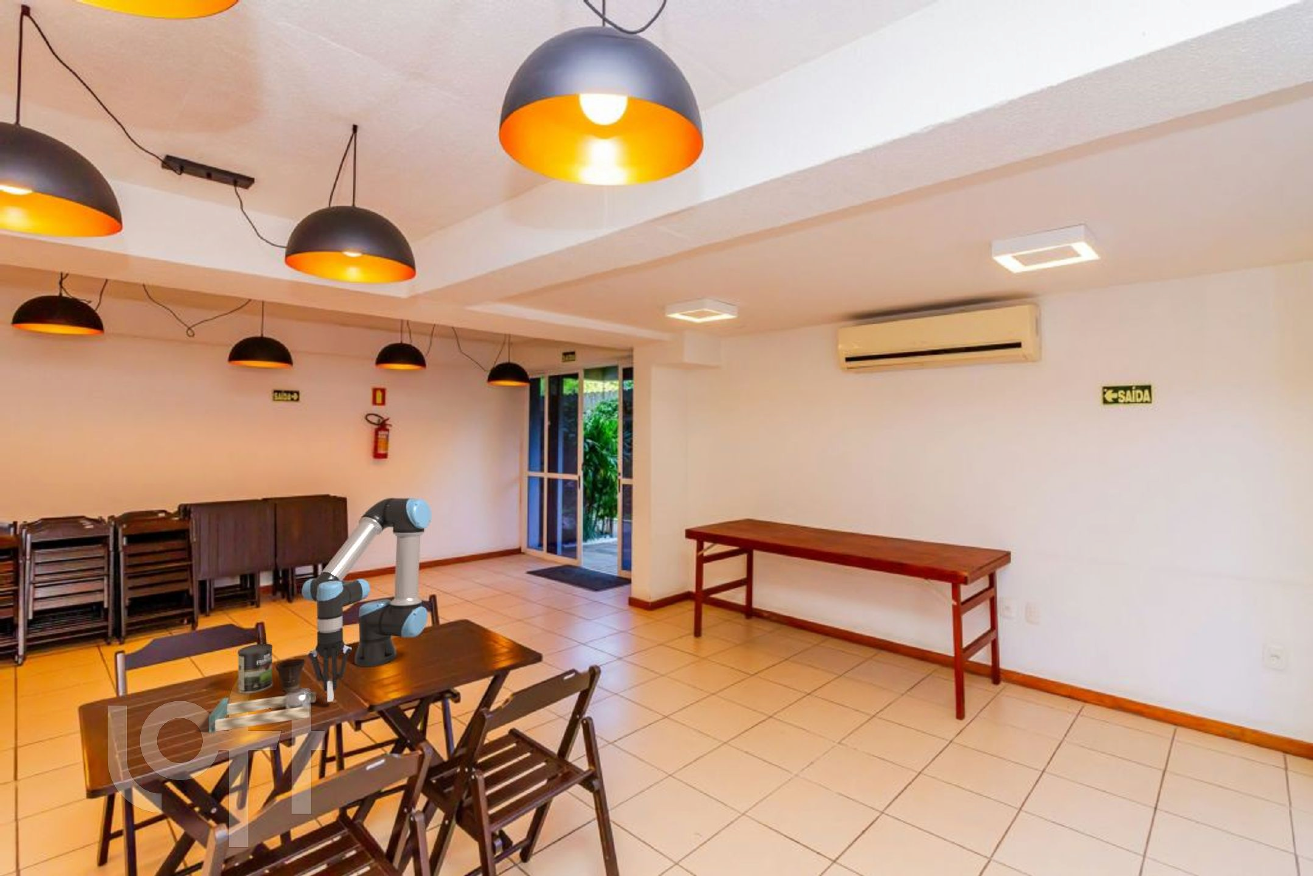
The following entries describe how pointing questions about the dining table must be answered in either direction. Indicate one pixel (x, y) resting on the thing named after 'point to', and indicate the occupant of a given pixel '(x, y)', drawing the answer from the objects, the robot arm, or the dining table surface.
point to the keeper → (298, 698)
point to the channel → (224, 708)
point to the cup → (290, 673)
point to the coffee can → (255, 668)
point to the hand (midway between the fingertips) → (330, 699)
